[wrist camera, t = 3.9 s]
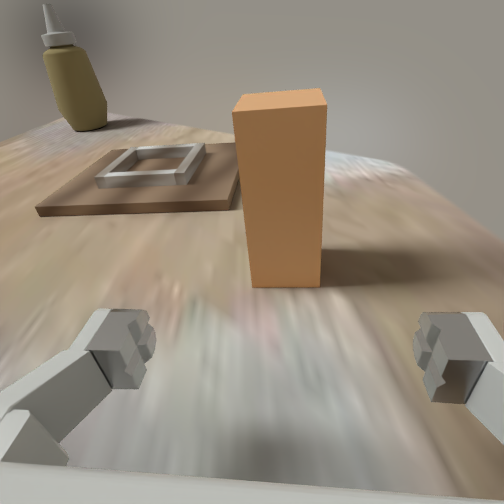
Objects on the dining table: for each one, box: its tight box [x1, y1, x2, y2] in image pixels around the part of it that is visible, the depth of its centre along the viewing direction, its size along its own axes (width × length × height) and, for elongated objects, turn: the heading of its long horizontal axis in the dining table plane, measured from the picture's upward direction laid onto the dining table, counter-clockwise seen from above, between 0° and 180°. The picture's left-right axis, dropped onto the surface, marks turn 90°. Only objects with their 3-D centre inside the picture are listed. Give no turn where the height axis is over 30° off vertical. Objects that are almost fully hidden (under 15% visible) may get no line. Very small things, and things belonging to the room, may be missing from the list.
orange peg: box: [232, 88, 327, 288], centre depth 18 cm, size 4×4×10 cm
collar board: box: [35, 143, 239, 216], centre depth 35 cm, size 18×16×2 cm
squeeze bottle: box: [42, 4, 107, 131], centre depth 55 cm, size 8×8×18 cm
